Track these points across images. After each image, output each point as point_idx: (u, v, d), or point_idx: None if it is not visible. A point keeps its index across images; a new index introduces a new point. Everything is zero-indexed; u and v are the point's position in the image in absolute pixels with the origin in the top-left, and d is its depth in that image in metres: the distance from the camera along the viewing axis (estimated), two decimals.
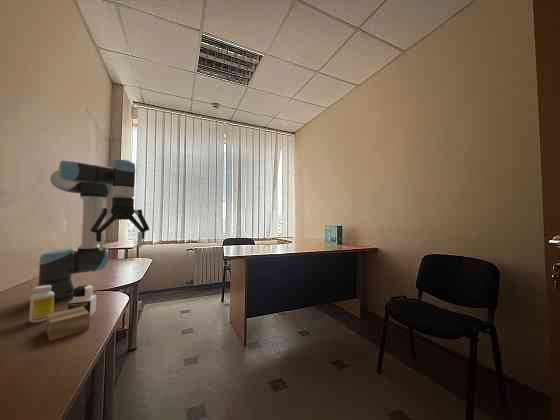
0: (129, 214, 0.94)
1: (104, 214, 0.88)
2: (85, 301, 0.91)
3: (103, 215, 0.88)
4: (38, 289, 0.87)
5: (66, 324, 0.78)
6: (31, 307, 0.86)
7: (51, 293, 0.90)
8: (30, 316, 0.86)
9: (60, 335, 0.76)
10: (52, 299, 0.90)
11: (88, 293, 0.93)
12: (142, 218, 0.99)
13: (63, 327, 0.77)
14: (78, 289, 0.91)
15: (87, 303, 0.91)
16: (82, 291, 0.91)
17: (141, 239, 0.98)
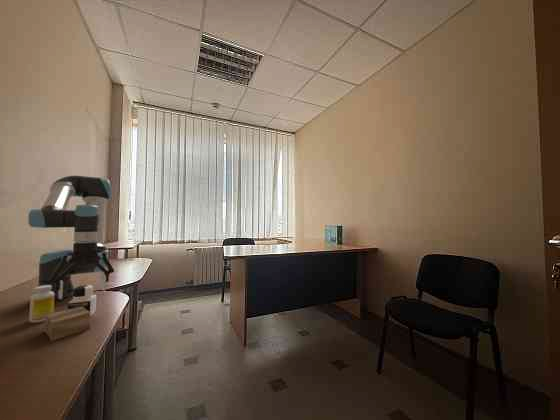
0: (91, 259, 0.94)
1: (63, 262, 0.88)
2: (85, 301, 0.91)
3: (62, 263, 0.88)
4: (38, 289, 0.87)
5: (67, 324, 0.78)
6: (31, 307, 0.86)
7: (51, 293, 0.90)
8: (30, 316, 0.86)
9: (61, 335, 0.76)
10: (52, 299, 0.90)
11: (89, 293, 0.93)
12: (106, 261, 0.98)
13: (64, 327, 0.77)
14: (78, 289, 0.91)
15: (87, 303, 0.91)
16: (82, 291, 0.91)
17: (105, 282, 0.98)
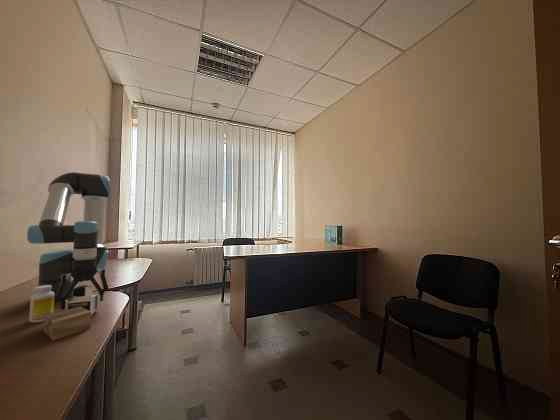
0: (90, 275, 0.94)
1: (64, 281, 0.88)
2: (85, 301, 0.91)
3: (63, 282, 0.88)
4: (38, 289, 0.87)
5: (68, 324, 0.78)
6: (31, 307, 0.86)
7: (51, 293, 0.90)
8: (30, 316, 0.86)
9: (63, 334, 0.77)
10: (52, 299, 0.90)
11: (89, 293, 0.93)
12: (103, 278, 0.98)
13: (65, 327, 0.77)
14: (78, 289, 0.91)
15: (87, 303, 0.91)
16: (82, 291, 0.91)
17: (99, 302, 0.96)
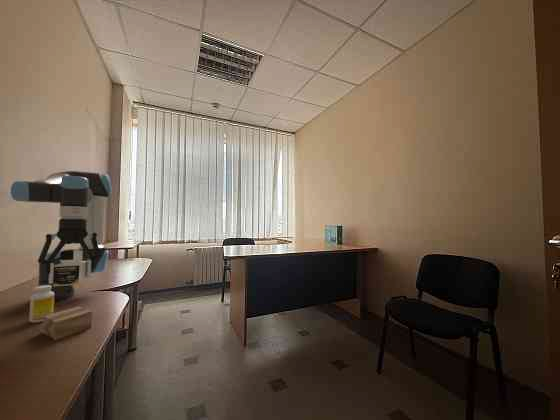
0: (79, 238, 0.83)
1: (49, 241, 0.77)
2: (73, 265, 0.80)
3: (48, 242, 0.77)
4: (38, 289, 0.87)
5: (70, 323, 0.78)
6: (31, 307, 0.86)
7: (51, 293, 0.90)
8: (30, 316, 0.86)
9: (65, 334, 0.77)
10: (52, 299, 0.90)
11: (77, 257, 0.82)
12: (95, 243, 0.87)
13: (67, 326, 0.78)
14: (65, 252, 0.80)
15: (75, 268, 0.80)
16: (70, 254, 0.80)
17: (90, 268, 0.86)
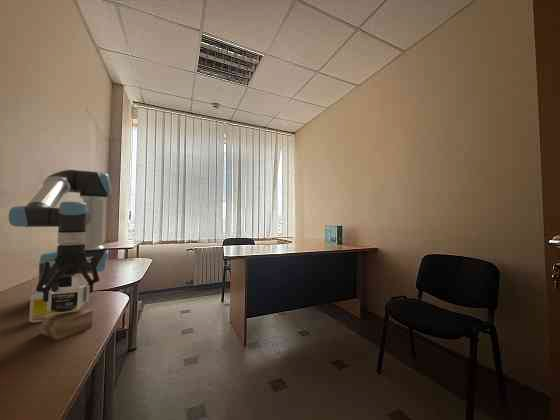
0: (78, 263, 0.82)
1: (47, 269, 0.77)
2: (72, 292, 0.79)
3: (46, 270, 0.77)
4: None
5: (71, 323, 0.79)
6: (31, 307, 0.86)
7: None
8: (30, 316, 0.86)
9: (66, 334, 0.77)
10: None
11: (76, 283, 0.81)
12: (93, 267, 0.86)
13: (69, 326, 0.78)
14: (64, 278, 0.79)
15: (74, 295, 0.80)
16: (68, 281, 0.80)
17: (88, 293, 0.85)
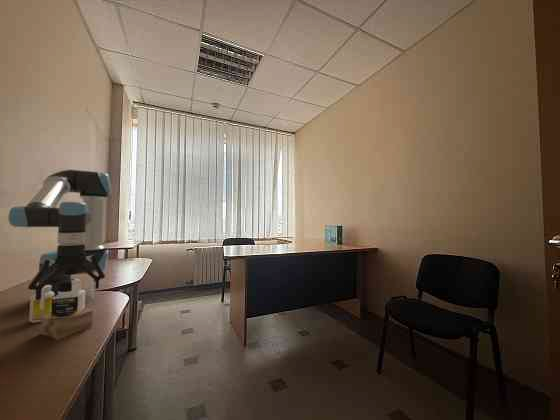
0: (78, 263, 0.83)
1: (45, 267, 0.76)
2: (72, 297, 0.80)
3: (44, 268, 0.76)
4: None
5: (72, 323, 0.79)
6: (31, 307, 0.86)
7: (51, 293, 0.90)
8: (30, 316, 0.86)
9: (67, 334, 0.77)
10: None
11: (76, 288, 0.81)
12: (96, 265, 0.87)
13: (69, 326, 0.78)
14: (63, 283, 0.79)
15: (74, 300, 0.80)
16: (68, 285, 0.80)
17: (94, 289, 0.86)
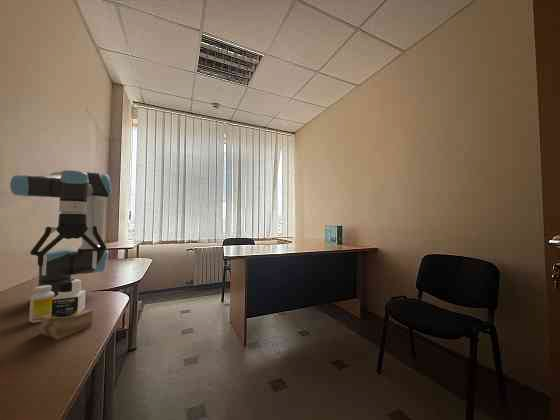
0: (80, 232, 0.83)
1: (47, 234, 0.77)
2: (72, 297, 0.79)
3: (46, 235, 0.77)
4: (38, 289, 0.87)
5: (72, 323, 0.79)
6: (31, 307, 0.86)
7: (51, 293, 0.90)
8: (30, 316, 0.86)
9: (66, 334, 0.77)
10: None
11: (76, 288, 0.81)
12: (97, 236, 0.88)
13: (69, 326, 0.78)
14: (64, 283, 0.79)
15: (74, 300, 0.80)
16: (68, 286, 0.80)
17: (96, 260, 0.87)
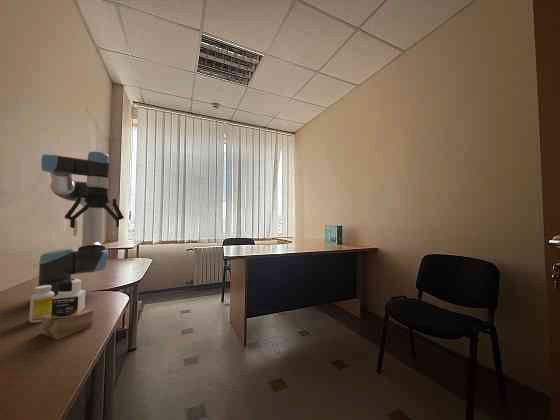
0: (103, 203, 1.01)
1: (78, 202, 0.94)
2: (72, 297, 0.80)
3: (77, 203, 0.94)
4: (38, 289, 0.87)
5: (72, 323, 0.79)
6: (31, 307, 0.86)
7: (51, 293, 0.90)
8: (30, 316, 0.86)
9: (67, 334, 0.77)
10: None
11: (76, 288, 0.82)
12: (116, 207, 1.05)
13: (69, 326, 0.78)
14: (64, 283, 0.80)
15: (74, 299, 0.80)
16: (68, 285, 0.80)
17: (115, 227, 1.04)
